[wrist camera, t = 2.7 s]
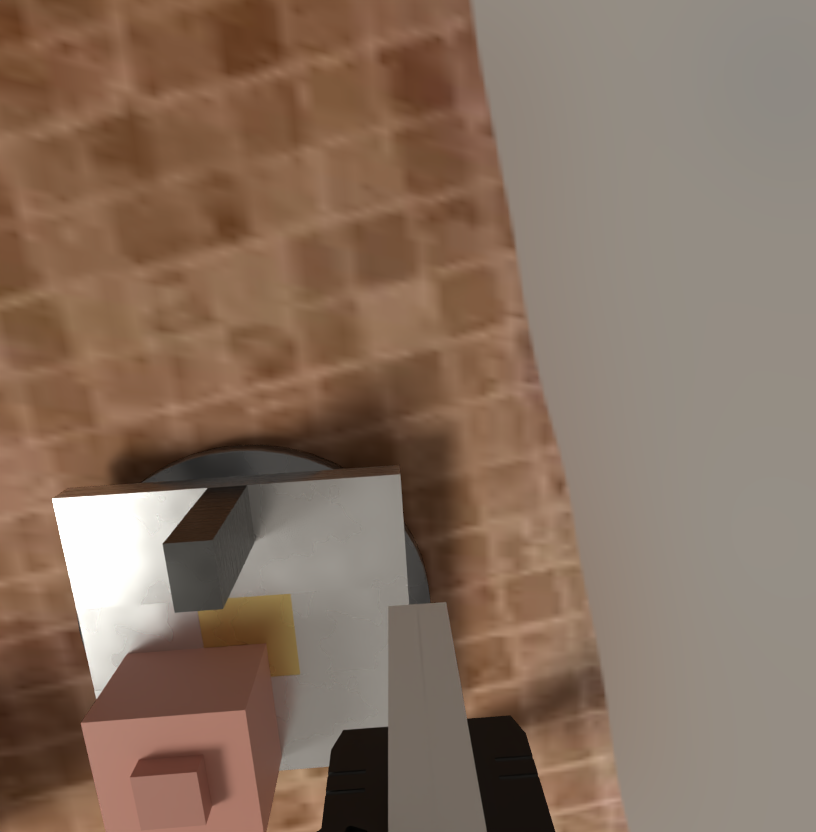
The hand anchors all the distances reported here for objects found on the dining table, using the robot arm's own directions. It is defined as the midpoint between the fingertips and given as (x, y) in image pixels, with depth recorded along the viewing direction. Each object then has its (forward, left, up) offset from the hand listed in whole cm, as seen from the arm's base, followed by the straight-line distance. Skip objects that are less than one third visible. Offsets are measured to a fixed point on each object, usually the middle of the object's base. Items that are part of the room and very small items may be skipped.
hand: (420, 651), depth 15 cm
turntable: (+5, -7, -11) cm, 14 cm away
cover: (+9, -9, -9) cm, 16 cm away
